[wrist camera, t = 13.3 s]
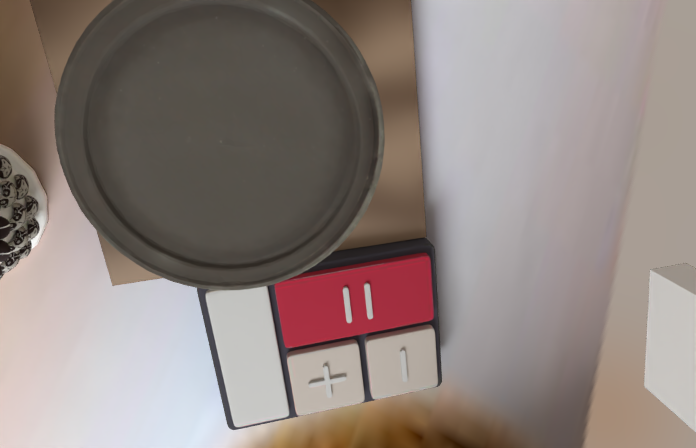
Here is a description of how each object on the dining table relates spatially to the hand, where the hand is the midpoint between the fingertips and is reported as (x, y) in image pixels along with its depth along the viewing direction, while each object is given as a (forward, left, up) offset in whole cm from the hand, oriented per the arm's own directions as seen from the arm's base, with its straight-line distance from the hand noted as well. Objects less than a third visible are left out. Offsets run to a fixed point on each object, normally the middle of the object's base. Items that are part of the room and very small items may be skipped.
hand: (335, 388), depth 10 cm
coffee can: (+3, +2, -23) cm, 23 cm away
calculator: (-12, 0, -25) cm, 28 cm away
